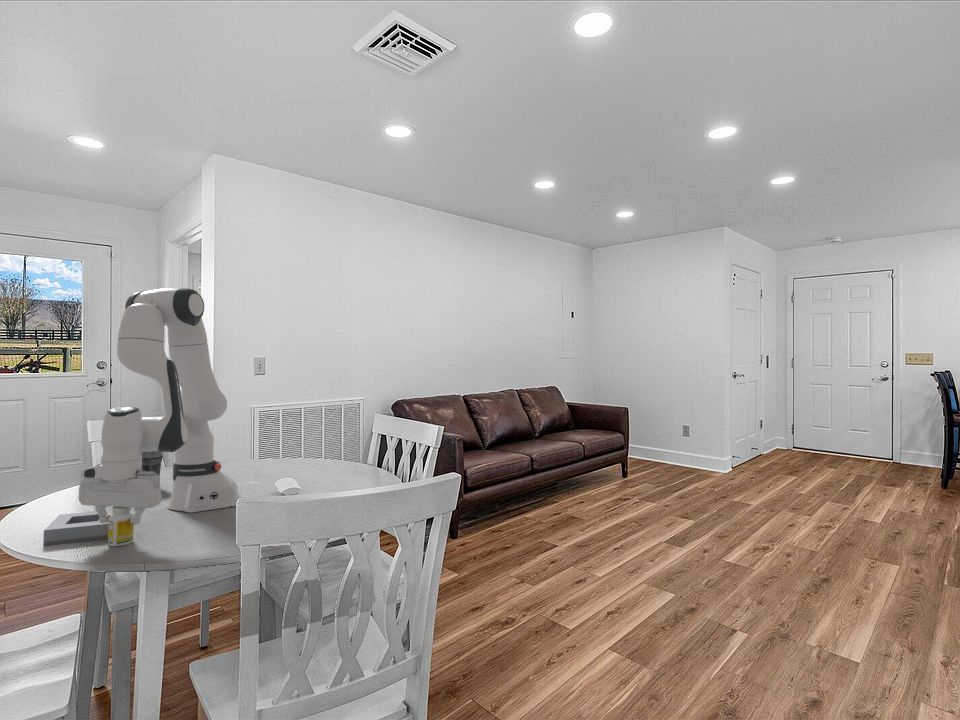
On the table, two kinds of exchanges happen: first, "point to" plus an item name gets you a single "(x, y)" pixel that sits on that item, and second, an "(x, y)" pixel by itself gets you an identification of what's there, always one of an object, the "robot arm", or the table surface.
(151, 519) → the table surface
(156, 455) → the beverage cup
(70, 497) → the table surface
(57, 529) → the dock
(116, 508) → the supplement bottle
